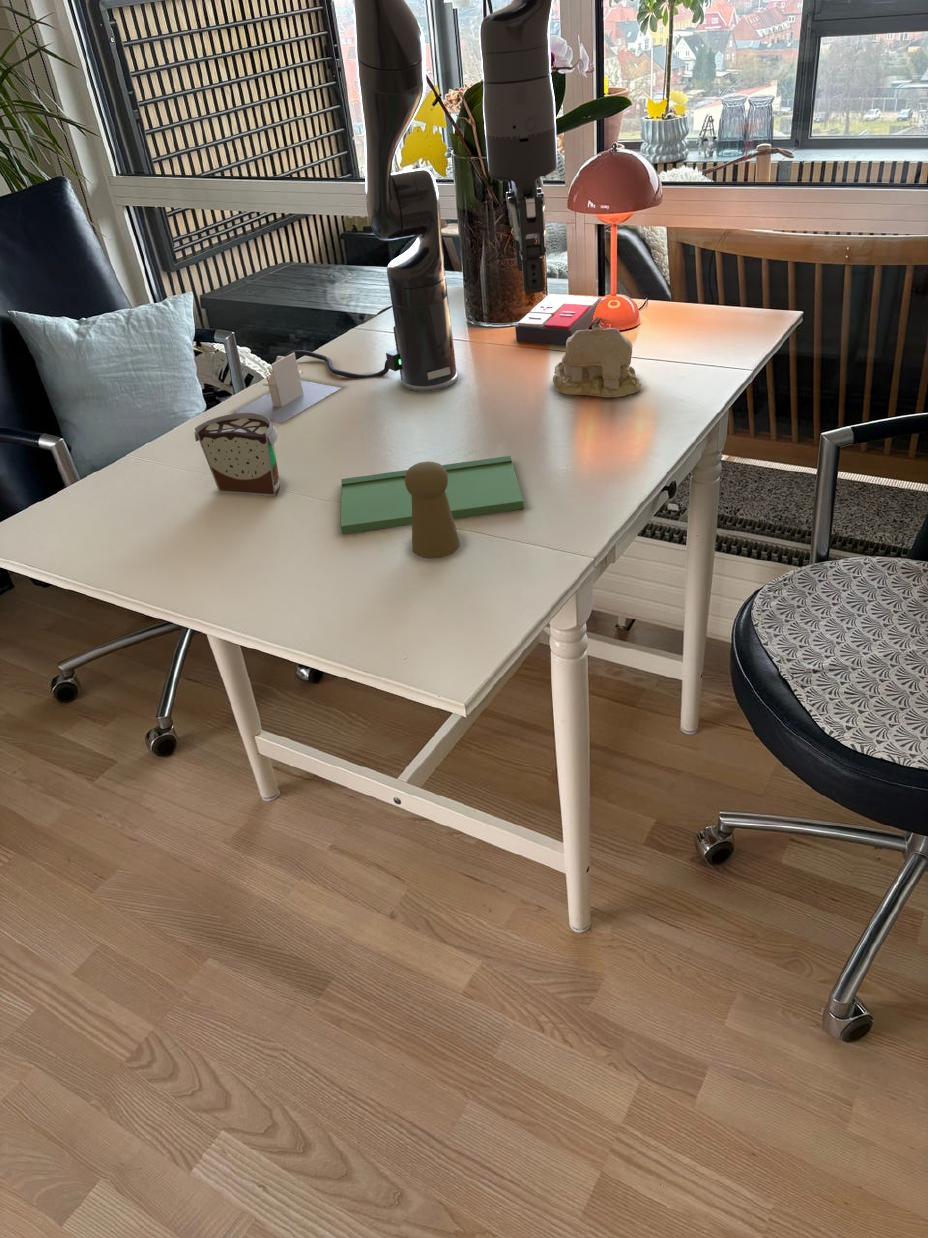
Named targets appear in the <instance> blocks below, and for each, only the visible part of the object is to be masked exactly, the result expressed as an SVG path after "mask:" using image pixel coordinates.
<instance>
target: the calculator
mask: <svg viewBox="0 0 928 1238" xmlns="http://www.w3.org/2000/svg"><path fill="white" fill-rule="evenodd" d="M600 301H601V302H602V299H601V298H599V297H596V296H595V297H594V296H579V295H578V296H577V295H561V294H548V295H547V296H546V297H544V299H543V300H542V301H540V302H538V304H536V305H535V306H534V307H533V308H532V309H531V310H530V311H529V312H528V313H526V315H525V316H523V317H522V318H521V319H520V320H519V321H518V322H517V324H516V325H515V326H514V328H515V339H516V342H517V343H527V344H538V345H549V346H562V347H566V341H567V339H568V338H569V337H571V336H572V335H573V334H574V333H575V332H576V331H577V330H589V329H590V328H591V327H592V326H593V325H594V324H598V322H599V321H600V320H601V319H602V318H598V317H597V318H596V319H595V320H594V321H593V322H592V320H593V315H594V312H595V309H596V307H597V305H598V303H599V302H600Z"/></svg>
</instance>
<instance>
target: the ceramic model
mask: <svg viewBox="0 0 928 1238" xmlns="http://www.w3.org/2000/svg"><path fill="white" fill-rule="evenodd" d="M564 351H565V352H564V355H563V356H562V359H561V362H560V361H559V363H556V365H555V367H554V375H553V376H552V382H553V387H554V389H555V390H556V391H557V392H559V393H561V394H565V395H572V396H576V395H579V396H580V395H581V396H583V395H584V396H592V397H593V396H594V397H602V398H620V397H625V396H629V395H632V394H635V393H637V392H639V391H640V390H641V389H642V383H641V382H640V379H639V378H638V377H637V375H636V370H635V368H634V367H633V366H630V365H631V364H632V357H633V356H632V355H633V344H632V341H631V339H629V338H627V337H626V336H625V335H623V334H622V333H621V332H620V330H619V329H618V328H615V327H610V328H609V327H608V328H607V327H605V328H602V326H601V323H596V324H592V326H591V329H587V330H577V331H576V332H575V333H574V334H573V335H572V336H571V337H569V338H568V339H567V341H566V346H565V350H564Z"/></svg>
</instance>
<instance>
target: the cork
mask: <svg viewBox="0 0 928 1238" xmlns="http://www.w3.org/2000/svg"><path fill="white" fill-rule="evenodd" d="M442 465H443V464H441V463H439V462H435V461H421V462H418V463H414V464H413V465H412V466H410V467H409V468H408V469H406V470H407V472H406V475H405V486H406V488H407V490H408V492H409V493H410V494H411V495H412V524H411V544H412V545H411V550H412V551H413V554H415V555H416V556H418V557H421V558H424V559H441V558H443V557H447V556H449V555H452V554H453V553H455V552H456V551H457V550H458V549H459V547H460V545H461V541H460V538H459V534H458V531H457V527H456V522H455V520H454V519H455V518H454V519H453V516H452V512H451V509H450V505H449V502H448V498H447V495H446V491H445V490H446V488H447V485H448V474H447V472H446V470H445V468H444V467H443V466H442Z"/></svg>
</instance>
